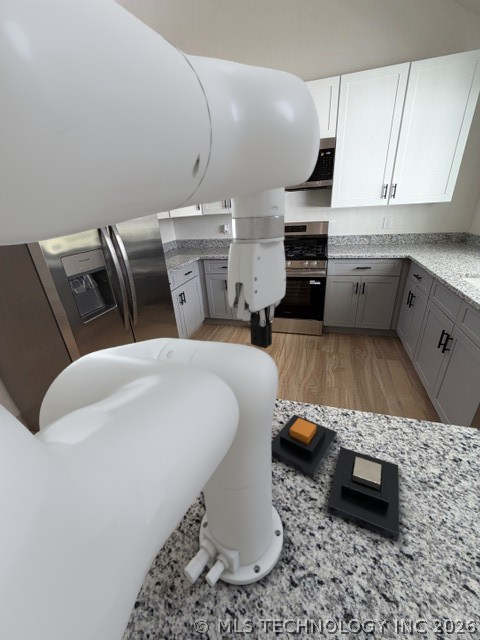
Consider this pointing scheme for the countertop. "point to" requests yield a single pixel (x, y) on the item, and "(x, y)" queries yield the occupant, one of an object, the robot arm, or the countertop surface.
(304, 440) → the amber key
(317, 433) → the rear keypad
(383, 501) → the front keypad
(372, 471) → the white key
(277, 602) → the countertop surface
